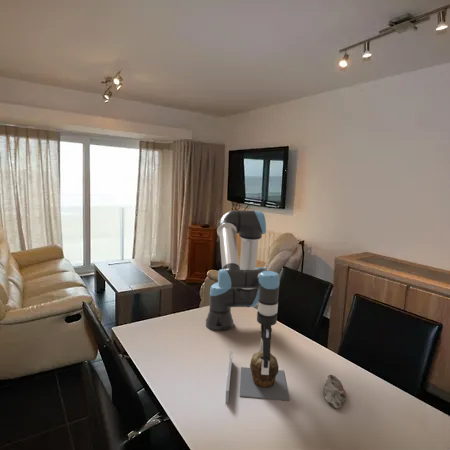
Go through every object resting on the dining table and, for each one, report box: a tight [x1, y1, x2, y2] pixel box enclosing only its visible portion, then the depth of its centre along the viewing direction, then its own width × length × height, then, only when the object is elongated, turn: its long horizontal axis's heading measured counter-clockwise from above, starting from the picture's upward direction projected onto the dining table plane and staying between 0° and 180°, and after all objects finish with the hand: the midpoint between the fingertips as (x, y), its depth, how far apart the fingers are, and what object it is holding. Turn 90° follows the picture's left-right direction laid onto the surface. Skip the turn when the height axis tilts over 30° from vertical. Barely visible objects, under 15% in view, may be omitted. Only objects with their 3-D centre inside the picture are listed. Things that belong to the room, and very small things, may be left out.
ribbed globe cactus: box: [249, 350, 279, 388], centre depth 121 cm, size 11×11×12 cm
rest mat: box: [239, 366, 290, 401], centre depth 122 cm, size 18×18×1 cm
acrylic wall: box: [225, 351, 233, 405], centre depth 123 cm, size 26×1×5 cm, turn 176°
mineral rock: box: [323, 374, 347, 409], centre depth 116 cm, size 15×8×4 cm, turn 150°
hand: (264, 363), depth 122 cm, fingers open, 13 cm apart
